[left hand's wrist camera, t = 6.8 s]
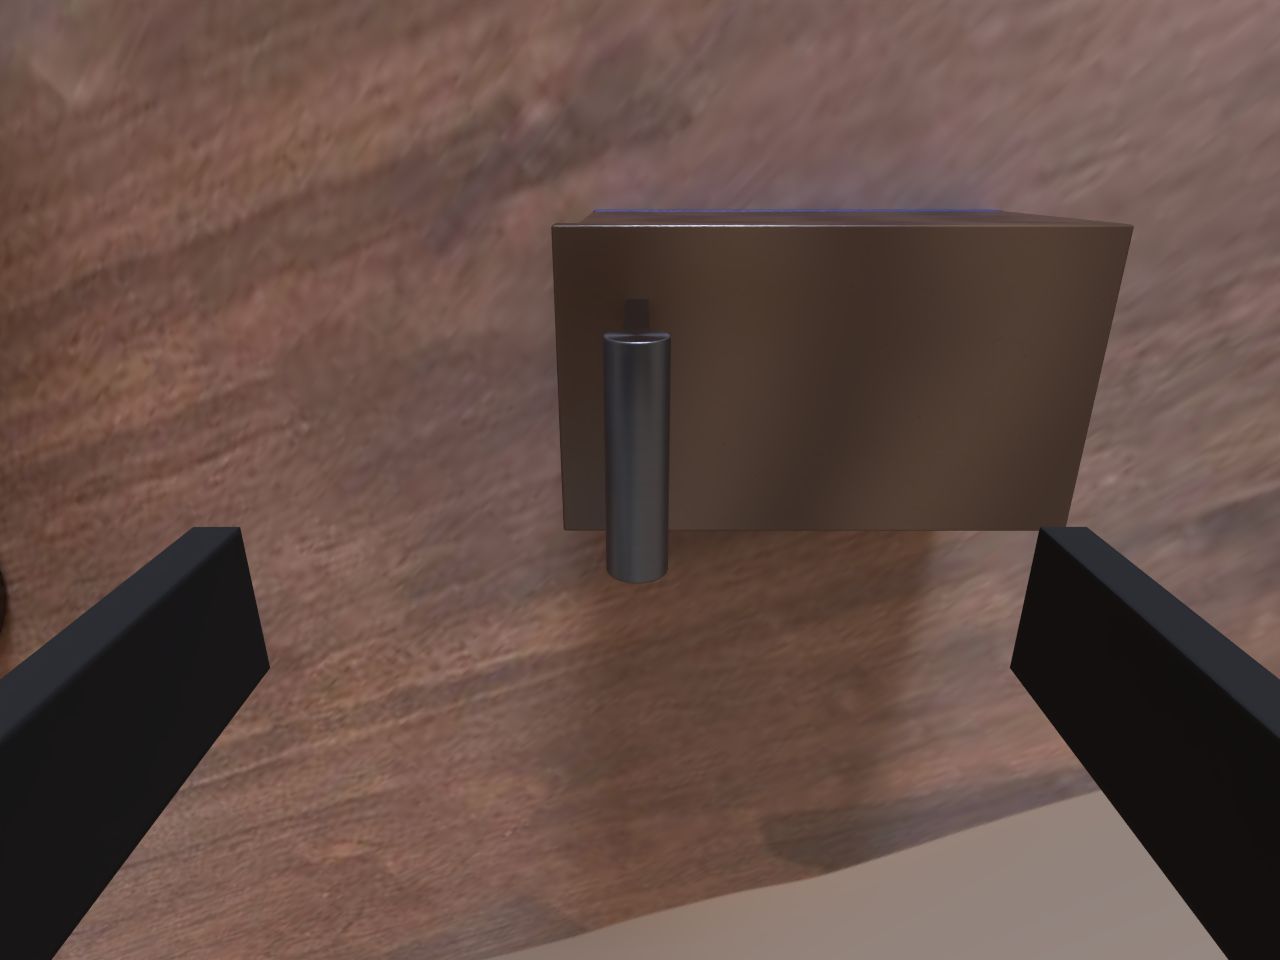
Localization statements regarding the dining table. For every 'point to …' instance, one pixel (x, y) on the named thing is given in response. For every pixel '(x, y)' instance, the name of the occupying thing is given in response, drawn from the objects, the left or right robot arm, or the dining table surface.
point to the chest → (822, 216)
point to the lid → (825, 376)
